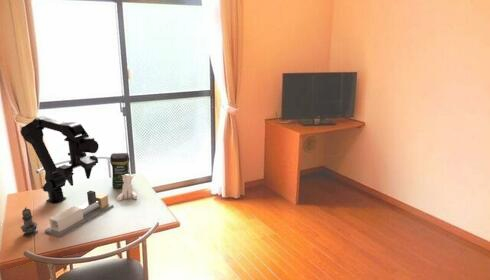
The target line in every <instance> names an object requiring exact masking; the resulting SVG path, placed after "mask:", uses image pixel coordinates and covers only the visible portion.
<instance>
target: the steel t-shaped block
mask: <svg viewBox="0 0 490 280" xmlns="http://www.w3.org/2000/svg"><path fill="white" fill-rule="evenodd" d="M86 194H87V202H86V203H84V204H82V205H80V206H78V207H79V208H82V210H83V215H85V214H87V213H88V212H90V211H92V210H94V209H96V208H98V207H99V206H101V204H100V199H96V195H97V194H96V191H95V190H94V191H93V190H89V191H87V192H86Z"/></svg>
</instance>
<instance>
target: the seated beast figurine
mask: <svg viewBox="0 0 490 280" xmlns="http://www.w3.org/2000/svg"><path fill="white" fill-rule="evenodd" d="M122 176H123V179H122V180H123V182H124V184H123V188H121V189H122V190H121V192H120V194H118V196H117V197H116V200H117V201H121V200H126V199H134V200H137V199H138V194H137V193H136V192H135V189H134V188H133V183H132V181H133V179H134V174H132V175H131V173H130V174H125V175H122Z"/></svg>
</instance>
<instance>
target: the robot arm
mask: <svg viewBox="0 0 490 280" xmlns="http://www.w3.org/2000/svg"><path fill="white" fill-rule="evenodd" d="M44 129H48V130H52V131H55V132H59V133H60V134H61V135H62V136H64V137H65V138H64V139H63V141H64V142H67V143H68V150H69V151H68V152H67V155H68V156H69V157H70V161H68V163H69V165H66V164H63V165H61V166H56V164H55V162H54V160H53V158H52V156H51V154H50V152H49V150H48V148H47V146H46V143H45V141H44V132H43V130H44ZM20 135H21V136H22V138H23V139H24V141H26V142H27V143H28V144H29V145H31V146H32V148H33V150H34V153H35V154H36V156H37V158H38V160H39V162H40V165H41V166H42V168H43V170H44V173H45V174H44V181H45V183H44V185H43V186H42V187H41V188H42V190H43V192H46V193H47V196H48V199H46V202H47V203H51V204H57V203H60V202H62V201H65V200H66V199H67V197H66V196H64V192H63V189H62V188H63V187H65V186H66V184H67V183H68V184H69V185H70V186H71V187H74V178H73V175H74V174H75V173H74V169H76V168H80V167H81V168H83V170H84V173H85V177H86V179H87V180H89V179H90V177H91V173H92V171H93V168H94V167H95V166H96V165H97V164H98V163H99V159H98V157H97V156H96V154H95V153H97V152H98V151H99V144H98V141H96V140H95V137H90V134H88V132H87V131H86V130H85V128H84V127H83V125H82V124H81V123H80V122H74V121H73V122H72V121H71V122H64V121H60V120H57V119H53V118H50V117H49V118H48V117H46V116H42V115H41V116H38V117H36V118H34V119H33V120H32V121H31V122H29V123H27V124H25V125H24V126H22V127H21V129H20ZM87 153H90V154H93V155H88V156H87ZM94 154H95V155H94ZM66 182H67V183H66Z"/></svg>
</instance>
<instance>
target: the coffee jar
mask: <svg viewBox="0 0 490 280" xmlns="http://www.w3.org/2000/svg"><path fill="white" fill-rule="evenodd" d="M109 160H110V161H109V163H110V165H111V169H112V178H111V179H112V183H111V184H112V187H113V188H114V189H122V188H123V184H124V182H123V180H122V179H123V176H122V175H125V174H130V175H131V172H130V164H129V163H130V160H131V159H130V155H129V153H128V152H121V153H120V152H119V153H118V152H116V153H115V152H113V153H111V155H110V159H109Z"/></svg>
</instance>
